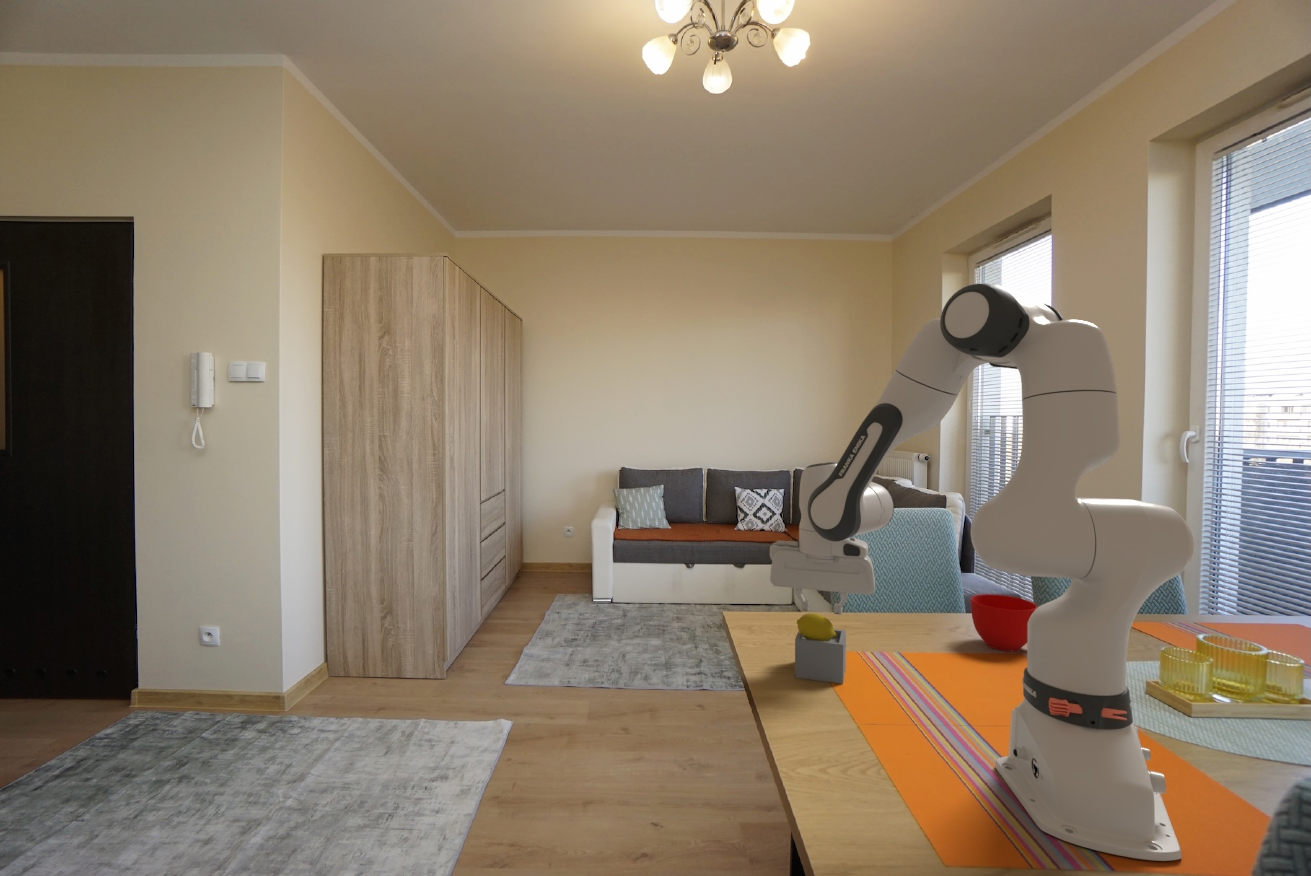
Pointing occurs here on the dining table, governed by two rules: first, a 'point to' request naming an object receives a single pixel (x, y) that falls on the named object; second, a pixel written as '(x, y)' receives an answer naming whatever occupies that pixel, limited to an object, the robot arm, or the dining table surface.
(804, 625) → the lemon
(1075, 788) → the robot arm
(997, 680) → the dining table surface
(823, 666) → the grey open box
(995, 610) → the red bowl
